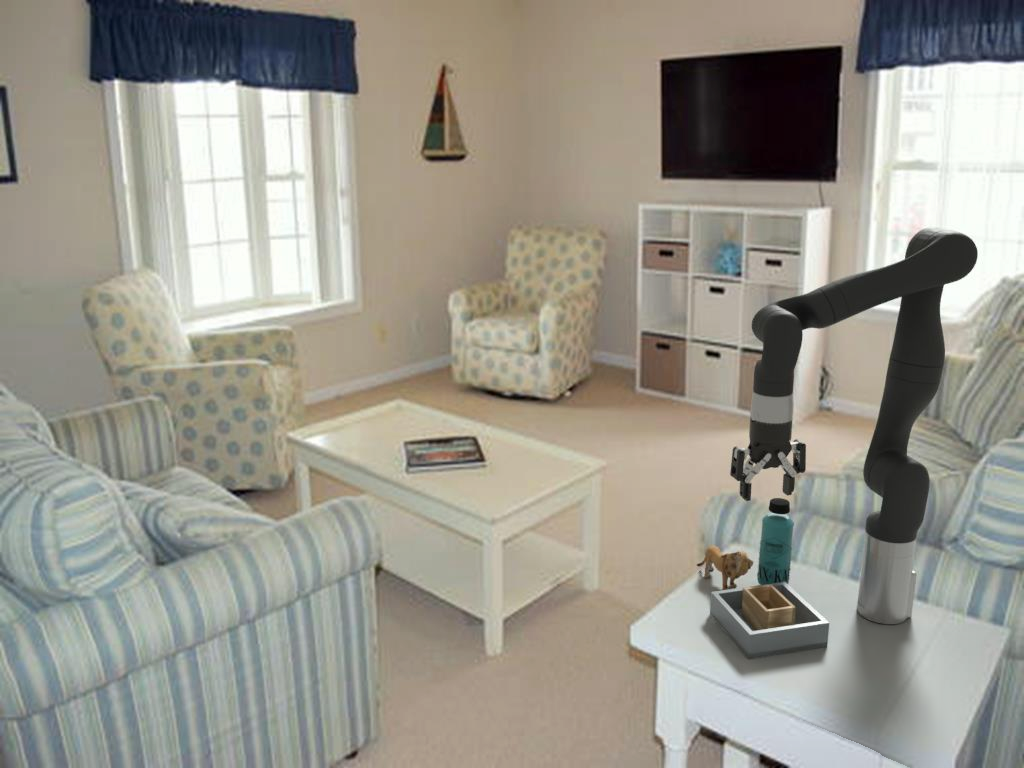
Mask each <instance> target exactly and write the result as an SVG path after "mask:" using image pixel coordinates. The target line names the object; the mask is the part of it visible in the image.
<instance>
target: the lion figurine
mask: <svg viewBox="0 0 1024 768" xmlns="http://www.w3.org/2000/svg"><path fill="white" fill-rule="evenodd" d="M705 551H706V552H705V556H704V559H703V560H702V562H699V563H696V566H697V567H702V566H703V565H704V564H705V567H704V579H710V578H711V576H710V574H709V571H713V570H714V569H716V570H717V571H718V572H720V573H721V577H722V590H729V586H730V587H731V588H737V587H738V585H737V583H735V580H737V579H739V578H741V576H745V575H747V573H748V572H749V570H751V568H752V567H753V565H754V561H753V559H750V558H749V556H748V555H747V552H745V551H742V550H741V551H735V552H732V553H725V554H724V553H722V552H721V549H720V548H719V547H718V546H716V545H710V546H708V547H707V549H706V550H705ZM713 566H714V567H715V568H714V567H713ZM728 579H729V580H728ZM728 581H729V585H728Z"/></svg>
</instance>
